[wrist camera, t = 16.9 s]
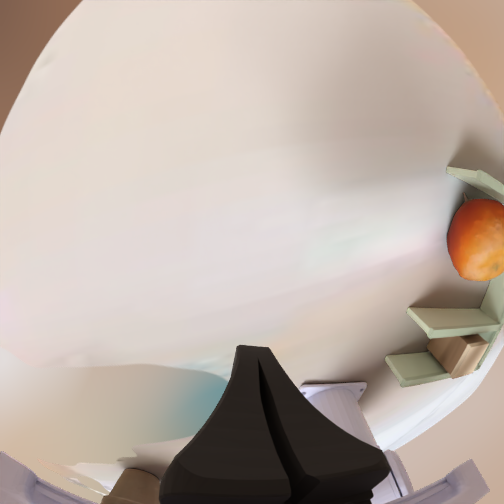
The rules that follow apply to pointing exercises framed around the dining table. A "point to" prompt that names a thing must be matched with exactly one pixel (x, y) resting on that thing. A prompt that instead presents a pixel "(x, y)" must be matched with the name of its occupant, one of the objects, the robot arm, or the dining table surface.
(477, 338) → the walnut box
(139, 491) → the flower pot
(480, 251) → the fruit
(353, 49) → the dining table surface
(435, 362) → the divider frame
